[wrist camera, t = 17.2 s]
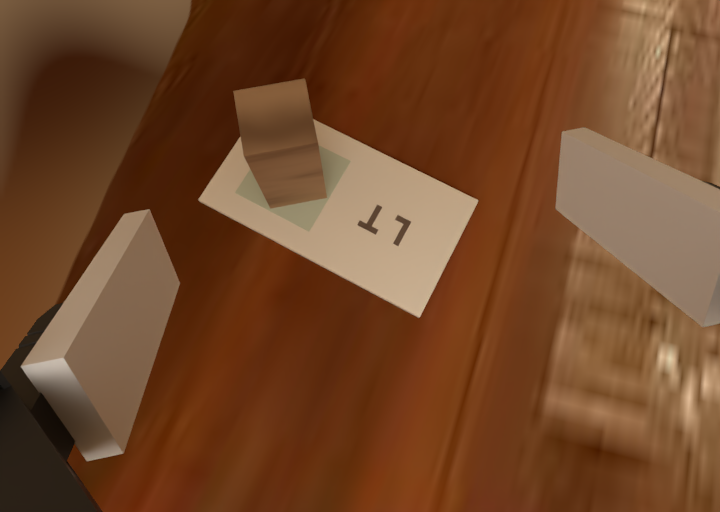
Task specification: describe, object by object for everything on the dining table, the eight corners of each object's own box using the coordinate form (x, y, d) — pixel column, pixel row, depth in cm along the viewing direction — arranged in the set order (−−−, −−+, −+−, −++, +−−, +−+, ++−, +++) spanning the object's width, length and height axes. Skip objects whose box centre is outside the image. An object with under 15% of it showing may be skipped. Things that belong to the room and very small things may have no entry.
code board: (268, 99, 53) (266, 96, 52) (477, 202, 50) (478, 200, 49) (199, 201, 50) (197, 199, 49) (418, 318, 47) (419, 317, 46)
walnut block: (261, 157, 50) (233, 91, 39) (316, 146, 51) (304, 78, 39) (270, 208, 49) (243, 156, 37) (327, 197, 49) (318, 142, 38)
